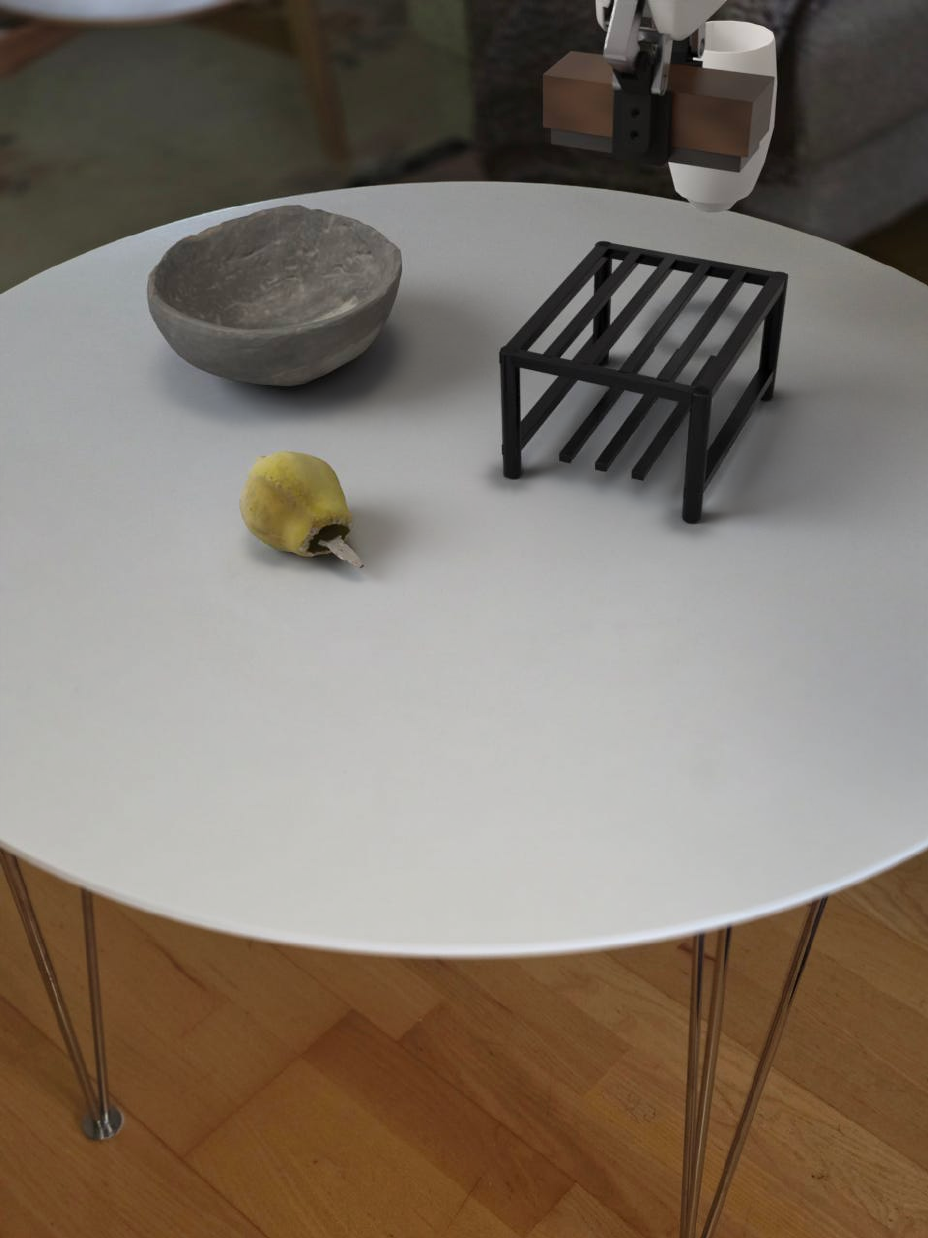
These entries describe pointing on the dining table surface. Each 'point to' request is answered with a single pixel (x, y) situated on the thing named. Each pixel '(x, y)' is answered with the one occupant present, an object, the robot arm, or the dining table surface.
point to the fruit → (297, 506)
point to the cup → (757, 55)
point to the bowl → (275, 294)
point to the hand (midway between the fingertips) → (655, 141)
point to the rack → (604, 337)
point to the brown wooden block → (701, 116)
